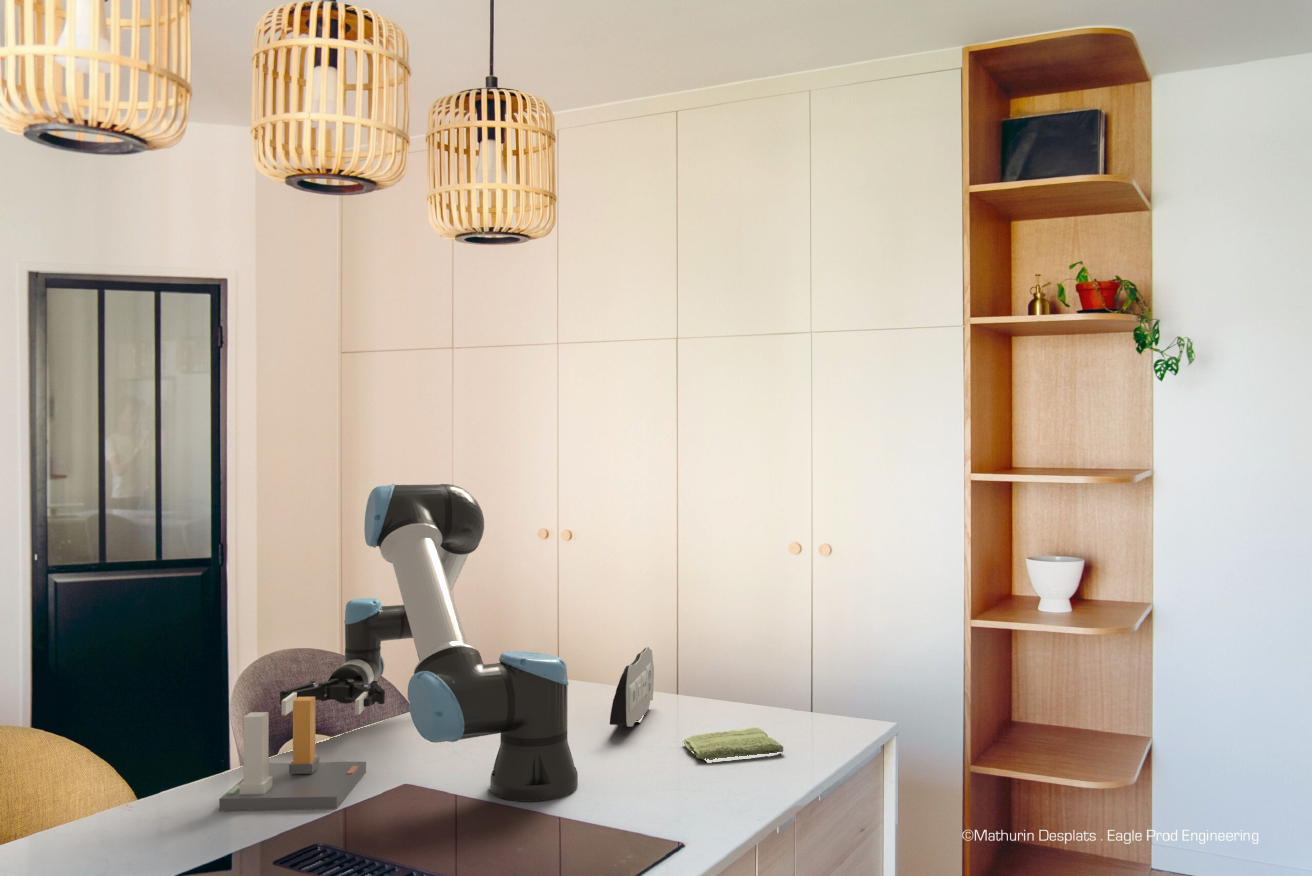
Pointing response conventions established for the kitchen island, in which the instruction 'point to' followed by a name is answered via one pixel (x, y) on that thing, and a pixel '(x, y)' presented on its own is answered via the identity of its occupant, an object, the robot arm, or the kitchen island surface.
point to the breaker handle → (304, 737)
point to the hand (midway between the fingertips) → (320, 707)
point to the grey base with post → (285, 778)
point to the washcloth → (732, 744)
